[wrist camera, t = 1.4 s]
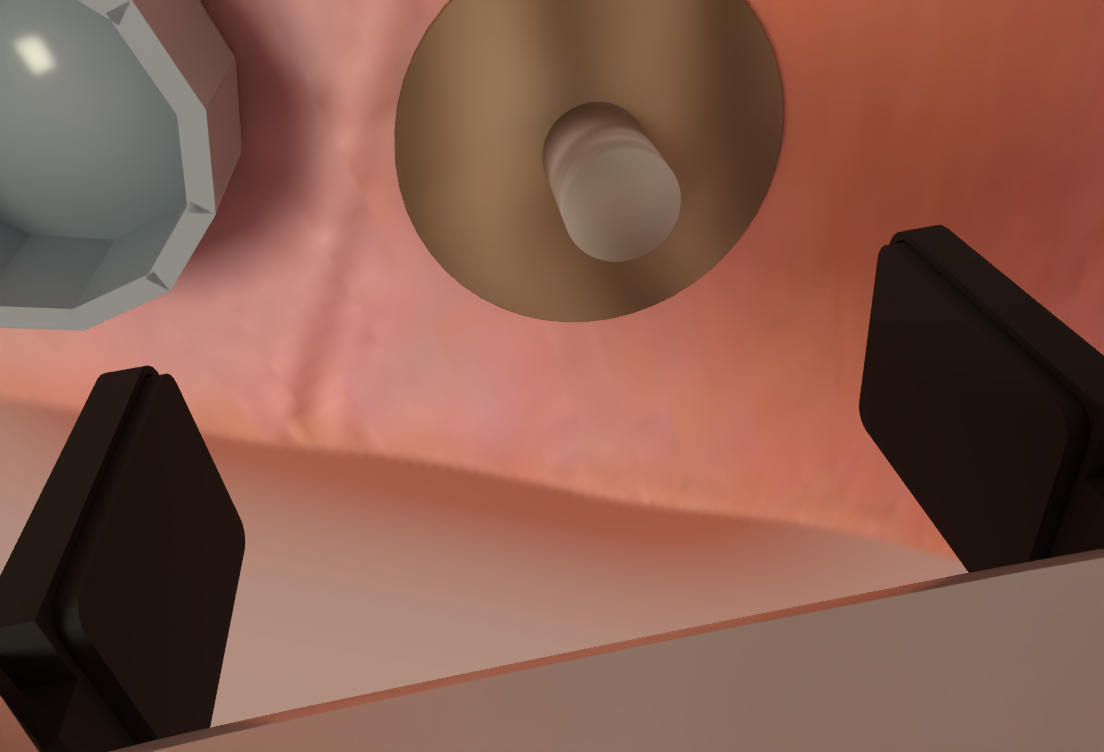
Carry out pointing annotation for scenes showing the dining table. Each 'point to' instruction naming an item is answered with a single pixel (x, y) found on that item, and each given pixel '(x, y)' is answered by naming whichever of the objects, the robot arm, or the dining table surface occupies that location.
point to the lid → (587, 147)
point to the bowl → (107, 153)
